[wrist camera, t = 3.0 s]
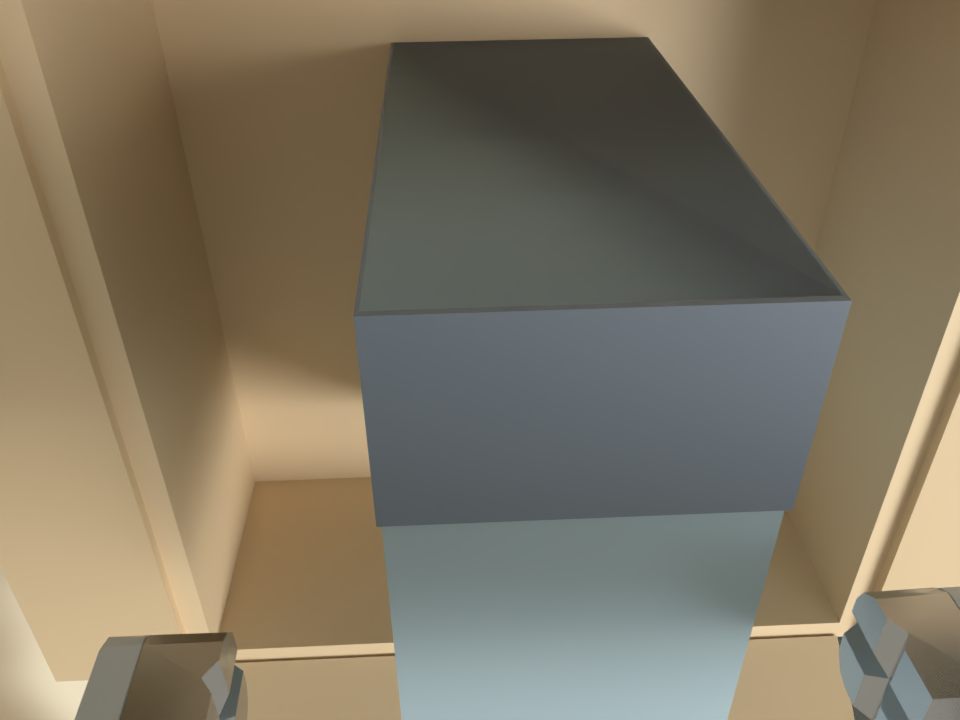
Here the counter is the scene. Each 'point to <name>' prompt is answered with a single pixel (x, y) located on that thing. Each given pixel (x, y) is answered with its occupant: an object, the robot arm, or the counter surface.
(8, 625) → the birch board
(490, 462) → the slate-blue box
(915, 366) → the carton
